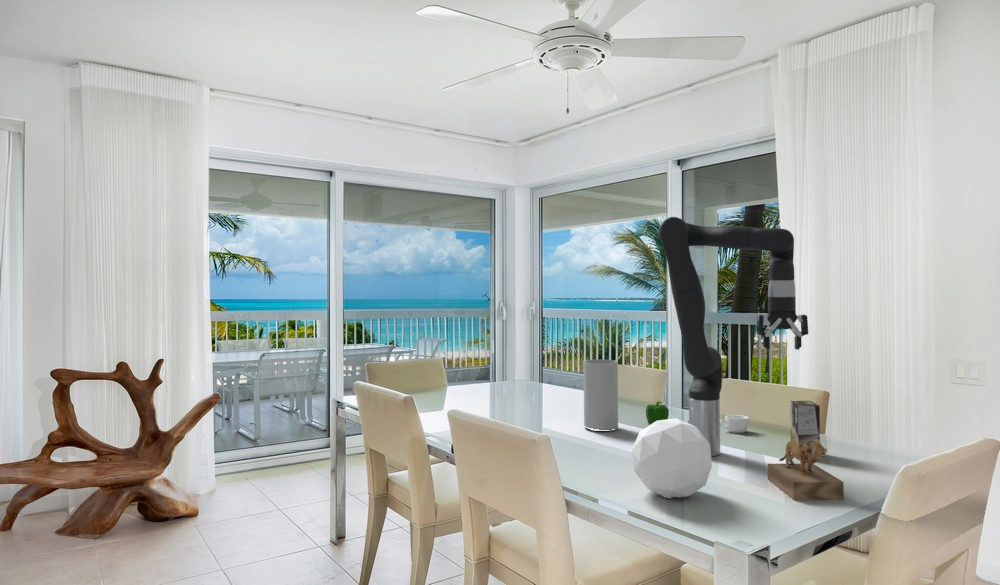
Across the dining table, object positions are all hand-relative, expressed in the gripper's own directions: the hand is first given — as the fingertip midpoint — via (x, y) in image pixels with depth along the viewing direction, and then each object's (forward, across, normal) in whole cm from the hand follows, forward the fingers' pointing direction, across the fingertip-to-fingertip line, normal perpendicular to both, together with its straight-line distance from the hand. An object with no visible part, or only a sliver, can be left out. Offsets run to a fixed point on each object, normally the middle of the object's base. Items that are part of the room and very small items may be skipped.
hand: (782, 349), depth 188 cm
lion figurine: (+29, -4, -27) cm, 40 cm away
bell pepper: (+33, -32, +42) cm, 62 cm away
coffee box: (+33, +8, +5) cm, 35 cm away
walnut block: (+34, -4, -29) cm, 45 cm away
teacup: (+33, -6, +35) cm, 49 cm away
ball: (+33, -38, -36) cm, 62 cm away
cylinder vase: (+33, -53, +37) cm, 73 cm away
